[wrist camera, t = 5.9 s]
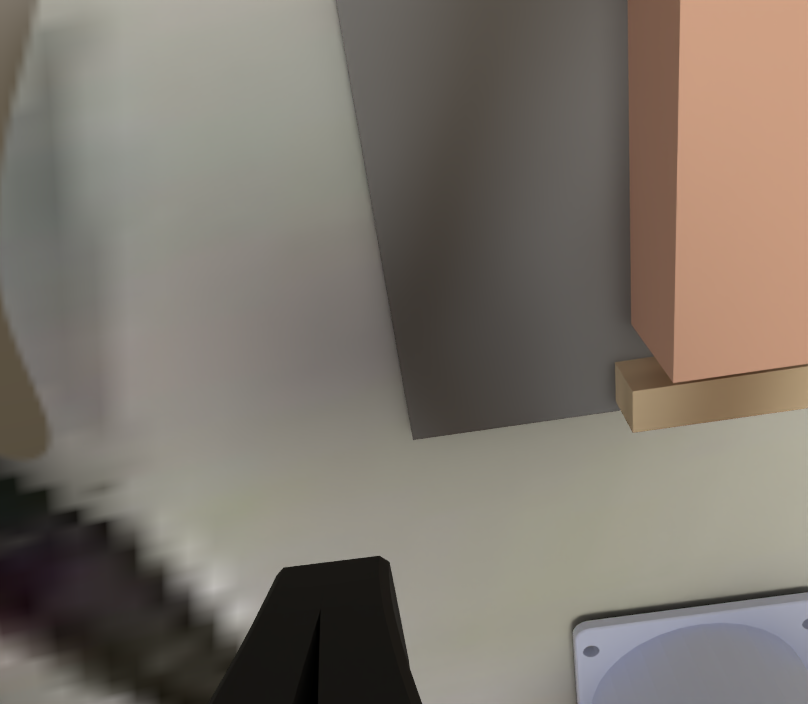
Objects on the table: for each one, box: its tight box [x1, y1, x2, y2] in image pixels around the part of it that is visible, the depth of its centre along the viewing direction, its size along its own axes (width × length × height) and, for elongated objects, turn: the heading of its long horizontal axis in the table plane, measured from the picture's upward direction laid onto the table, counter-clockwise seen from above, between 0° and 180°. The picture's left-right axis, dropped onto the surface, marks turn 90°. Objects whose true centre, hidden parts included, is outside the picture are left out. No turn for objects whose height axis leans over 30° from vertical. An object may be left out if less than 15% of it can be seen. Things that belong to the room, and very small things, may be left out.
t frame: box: [336, 0, 808, 440], centre depth 16 cm, size 19×14×2 cm
